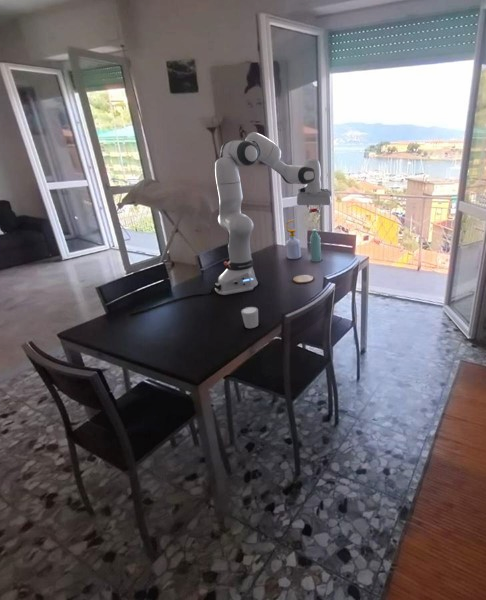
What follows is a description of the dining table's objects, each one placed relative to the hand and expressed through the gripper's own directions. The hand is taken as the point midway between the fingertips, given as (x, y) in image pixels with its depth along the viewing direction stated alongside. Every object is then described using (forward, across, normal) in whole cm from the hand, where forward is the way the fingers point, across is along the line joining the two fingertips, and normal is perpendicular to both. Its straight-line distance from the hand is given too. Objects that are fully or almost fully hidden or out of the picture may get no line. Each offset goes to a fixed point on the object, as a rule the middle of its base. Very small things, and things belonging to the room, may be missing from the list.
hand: (314, 212), depth 212 cm
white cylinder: (+31, +16, +84) cm, 91 cm away
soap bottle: (+30, +16, -7) cm, 35 cm away
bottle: (+30, 0, -2) cm, 30 cm away
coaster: (+30, +3, +32) cm, 45 cm away
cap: (-3, 0, +2) cm, 3 cm away
